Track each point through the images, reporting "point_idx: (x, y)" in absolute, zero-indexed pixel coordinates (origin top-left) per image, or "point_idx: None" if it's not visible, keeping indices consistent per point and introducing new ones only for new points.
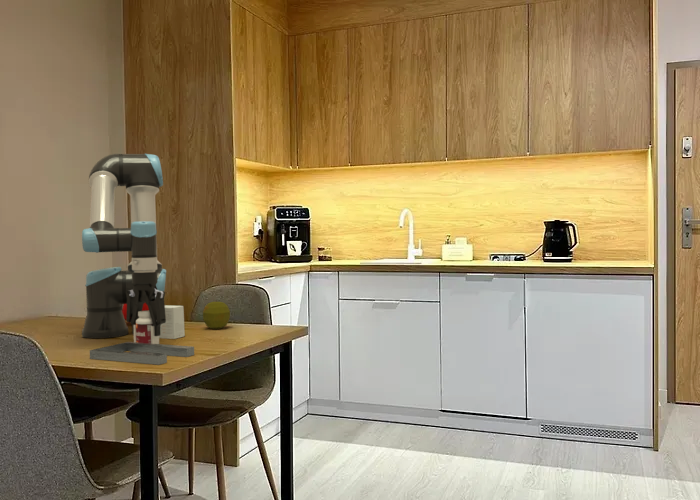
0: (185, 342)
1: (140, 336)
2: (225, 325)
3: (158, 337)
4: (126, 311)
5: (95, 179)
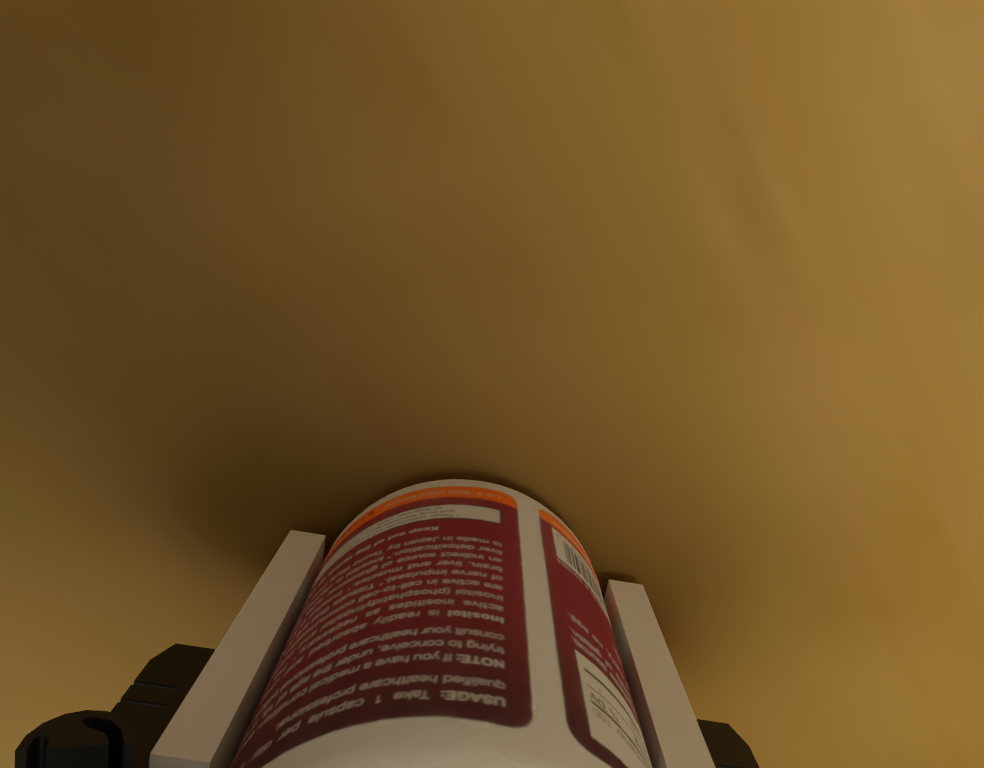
0: (855, 119)
1: None
2: None
3: (668, 670)
4: None
5: None
